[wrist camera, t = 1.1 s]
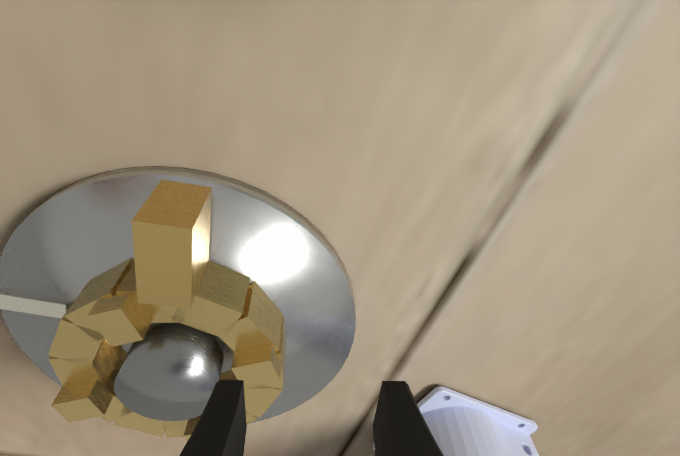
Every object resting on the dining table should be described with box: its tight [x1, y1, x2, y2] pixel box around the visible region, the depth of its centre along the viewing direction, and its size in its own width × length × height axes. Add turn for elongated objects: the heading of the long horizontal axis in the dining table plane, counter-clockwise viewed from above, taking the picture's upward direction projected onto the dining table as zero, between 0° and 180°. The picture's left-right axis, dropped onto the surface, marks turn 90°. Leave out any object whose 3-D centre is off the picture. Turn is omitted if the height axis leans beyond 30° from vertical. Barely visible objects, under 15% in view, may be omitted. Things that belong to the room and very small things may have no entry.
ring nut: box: [48, 180, 286, 441], centre depth 19 cm, size 10×14×3 cm
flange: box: [0, 166, 355, 424], centre depth 20 cm, size 18×18×5 cm
